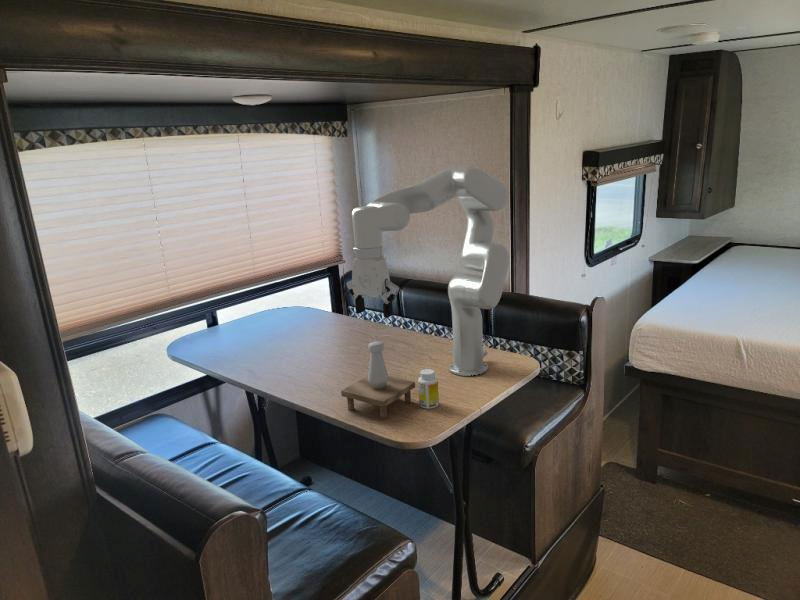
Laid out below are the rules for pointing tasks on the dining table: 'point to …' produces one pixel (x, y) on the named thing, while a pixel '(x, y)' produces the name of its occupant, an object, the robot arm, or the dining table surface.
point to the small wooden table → (378, 393)
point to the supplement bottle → (428, 389)
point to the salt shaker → (377, 366)
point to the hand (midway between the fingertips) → (374, 314)
